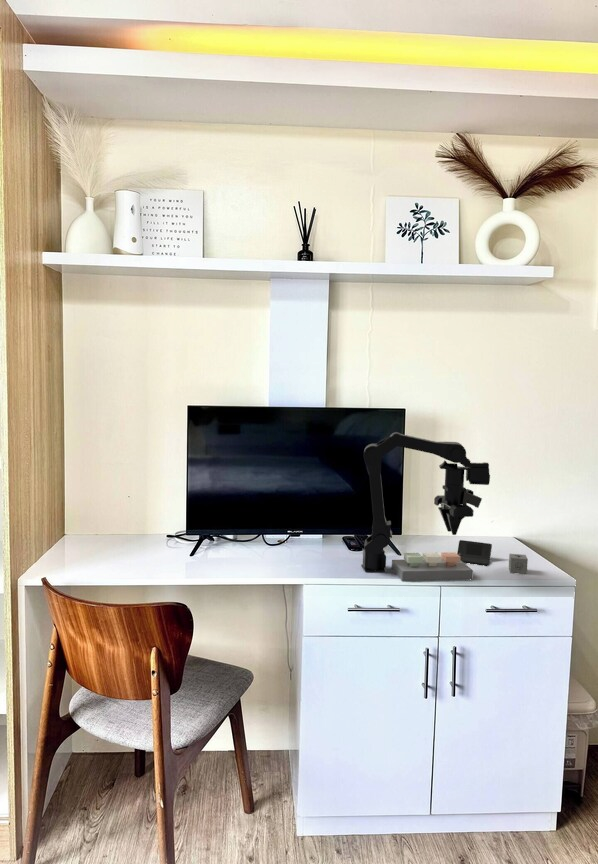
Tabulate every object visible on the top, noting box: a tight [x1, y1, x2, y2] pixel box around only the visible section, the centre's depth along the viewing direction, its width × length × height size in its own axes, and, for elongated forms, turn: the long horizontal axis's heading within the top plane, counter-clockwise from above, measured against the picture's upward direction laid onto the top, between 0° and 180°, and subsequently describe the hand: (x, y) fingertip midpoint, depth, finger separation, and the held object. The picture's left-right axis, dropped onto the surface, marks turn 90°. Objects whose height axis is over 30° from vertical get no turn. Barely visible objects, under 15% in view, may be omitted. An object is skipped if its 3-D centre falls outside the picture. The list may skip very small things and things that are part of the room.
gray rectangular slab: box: [391, 558, 474, 582], centre depth 216 cm, size 22×12×3 cm, turn 98°
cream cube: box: [421, 552, 442, 566], centre depth 215 cm, size 5×5×5 cm
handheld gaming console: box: [456, 539, 493, 567], centre depth 232 cm, size 12×7×10 cm
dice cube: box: [508, 553, 529, 575], centre depth 221 cm, size 5×5×5 cm
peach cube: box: [440, 551, 460, 566], centre depth 216 cm, size 5×5×5 cm
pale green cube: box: [403, 552, 423, 567], centre depth 215 cm, size 5×5×5 cm
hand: (451, 533), depth 215 cm, fingers open, 4 cm apart
